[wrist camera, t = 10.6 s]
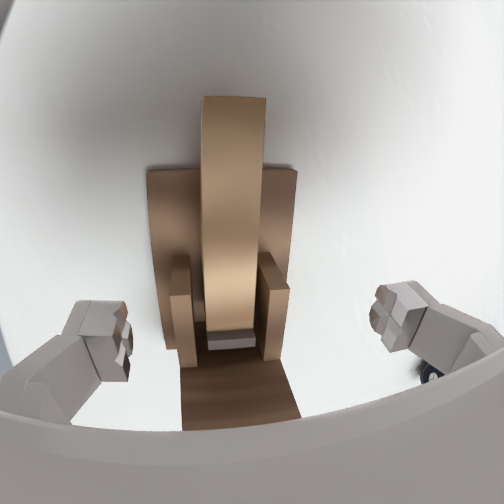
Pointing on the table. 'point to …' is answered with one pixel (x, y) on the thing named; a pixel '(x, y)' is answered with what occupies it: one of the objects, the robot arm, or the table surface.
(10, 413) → the robot arm
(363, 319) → the table surface
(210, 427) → the wooden chair
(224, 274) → the bed rail
